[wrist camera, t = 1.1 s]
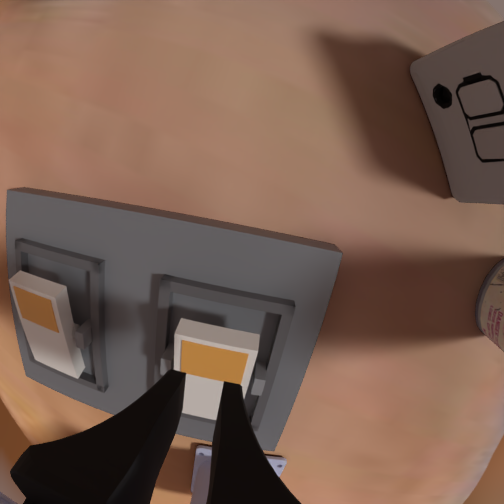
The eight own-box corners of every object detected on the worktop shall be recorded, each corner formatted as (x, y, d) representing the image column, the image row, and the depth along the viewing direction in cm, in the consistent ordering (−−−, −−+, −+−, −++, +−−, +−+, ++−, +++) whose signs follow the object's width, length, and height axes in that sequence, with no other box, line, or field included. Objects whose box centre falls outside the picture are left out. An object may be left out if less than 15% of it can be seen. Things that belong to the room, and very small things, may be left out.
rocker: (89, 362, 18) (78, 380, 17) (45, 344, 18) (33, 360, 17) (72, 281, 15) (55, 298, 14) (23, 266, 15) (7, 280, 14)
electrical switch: (403, 65, 15) (499, 10, 6) (454, 59, 14) (544, 21, 5) (450, 202, 17) (562, 224, 8) (494, 181, 16) (593, 193, 7)
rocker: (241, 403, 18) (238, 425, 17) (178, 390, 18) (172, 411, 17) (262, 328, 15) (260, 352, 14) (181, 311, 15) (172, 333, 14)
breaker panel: (273, 433, 22) (274, 468, 18) (37, 364, 21) (15, 386, 18) (334, 244, 18) (351, 262, 14) (24, 187, 17) (-11, 192, 14)
